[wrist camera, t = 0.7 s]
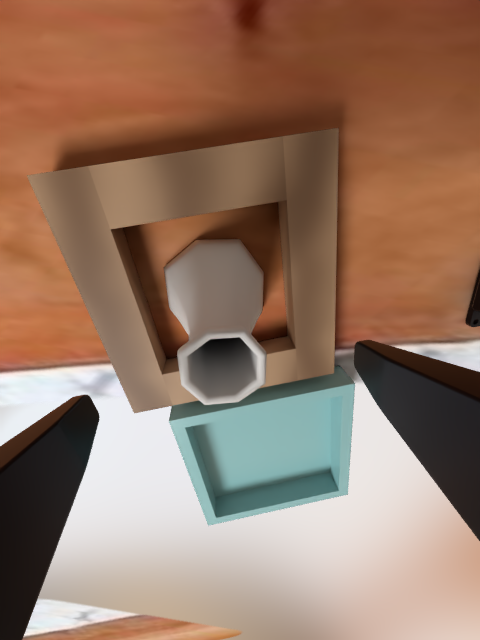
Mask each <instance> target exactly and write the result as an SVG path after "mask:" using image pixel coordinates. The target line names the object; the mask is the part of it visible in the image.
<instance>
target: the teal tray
mask: <svg viewBox="0 0 480 640" xmlns="http://www.w3.org/2000/svg"><path fill="white" fill-rule="evenodd" d="M354 390H355V383H354V382H353V381H352V379H351V378H350V377H349V376H348V375H347V374H346V372H345V371H344V370H343V369H342V368H341V367H340V366H335V367H334V373H333V374H328V375H323V376H318V377H313V378H308V379H303V380H298V381H293V382H288V383H283V384H278V385H273V386H268V387H263V388H258V389H257V390H256V391H254V392H253V393H251V394H250V395H248V396H247V397H245V398H244V399H242V400H241V401H239V402H234V403H223V404H212V405H204V404H203V403H202V402H201V401H199V400H198V401H193V402H188V403H183V404H178V405H173V406H172V409H171V414H170V419H169V423H170V425H171V428H172V430H173V433H174V436H175V438H176V441H177V444H178V446H179V449H180V452H181V454H182V457H183V460H184V462H185V465H186V468H187V470H188V473H189V475H190V478H191V481H192V484H193V486H194V488H195V491H196V494H197V497H198V499H199V502H200V505H201V507H202V510H203V513H204V515H205V518H206V521H207V523H208V525H213V524H217V523H222V522H226V521H231V520H235V519H240V518H244V517H249V516H253V515H258V514H262V513H267V512H271V511H275V510H280V509H284V508H289V507H294V506H298V505H303V504H307V503H311V502H316V501H320V500H324V499H329V498H334V497H338V496H343V495H347V494H348V482H349V466H350V451H351V436H352V421H353V405H354Z"/></svg>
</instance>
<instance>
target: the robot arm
mask: <svg viewBox="0 0 480 640" xmlns="http://www.w3.org/2000/svg"><path fill="white" fill-rule="evenodd" d="M466 324H467V325H469V326H471V327H477V326H480V271H479V275H478V278H477V282H476V286H475V289H474V293H473V297H472V300H471V304H470V308H469V311H468V315H467V319H466ZM354 365H355V368H356V370H357V372H358V373H359V375H360V377H361V378H362V380H363V382H364V383H365V385H366V387H367V388H368V390H369V392H370V393H371V395H372V397H373V398H374V400H375V402H376V403H377V405H378V406H379V408H380V409H381V410H382V412H383V413H384V415H385V416H386V417H387V419H388V420H389V421H390V423H391V424H392V425H393V427H394V428H395V429H396V431H397V432H398V433H399V435H400V436H401V437H402V439H403V440H404V441H405V442H406V444H407V445H408V447H409V448H410V449H411V451H412V452H413V453H414V455H415V456H416V457H417V459H418V460H419V461H420V462H421V464H422V465H423V466H424V468H425V469H426V471H427V472H428V473H429V475H430V476H431V477H432V479H433V480H434V481H435V483H436V484H437V485H438V486H439V488H440V489H441V490H442V492H443V493H444V494H445V496H446V497H447V498H448V500H449V501H450V502H451V504H452V505H453V506H454V508H455V509H456V510H457V512H458V513H459V514H460V515H461V517H462V518H463V520H464V521H465V522H466V523H467V525H468V526H469V528H470V529H471V530H472V532H473V533H474V534H475V536H476V537H477V538H478V539H479V541H480V372H477V371H474V370H470V369H467V368H464V367H460V366H457V365H453V364H450V363H447V362H443V361H440V360H436V359H433V358H429V357H426V356H423V355H419V354H416V353H412V352H409V351H406V350H402V349H399V348H395V347H392V346H389V345H385V344H382V343H378V342H375V341H372V340H364V341H359V342H357V343H356V344H355V353H354ZM98 422H99V413H98V411H97V409H96V407H95V405H94V403H93V401H92V400H91V398H90V396H88V395H81V396H75V397H72V398H71V399H69V400H68V401H66V402H65V403H63V404H62V405H61V406H59V407H58V408H56V409H55V410H53V411H52V412H50V413H49V414H47V415H46V416H44V417H43V418H41V419H40V420H38V421H37V422H36V423H34V424H33V425H31V426H30V427H28V428H27V429H25V430H24V431H22V432H21V433H19V434H18V435H17V436H15V437H14V438H12V439H10V440H9V441H8V442H6V443H5V444H3V445H2V446H0V640H22V639H23V636H24V634H25V631H26V628H27V626H28V623H29V620H30V618H31V615H32V612H33V610H34V607H35V604H36V601H37V599H38V596H39V593H40V591H41V588H42V585H43V583H44V580H45V577H46V575H47V572H48V569H49V567H50V564H51V561H52V558H53V556H54V553H55V551H56V548H57V545H58V542H59V540H60V537H61V534H62V532H63V529H64V526H65V523H66V521H67V518H68V516H69V513H70V510H71V507H72V505H73V502H74V499H75V497H76V494H77V491H78V489H79V486H80V483H81V481H82V478H83V475H84V472H85V470H86V466H87V463H88V460H89V456H90V452H91V449H92V445H93V441H94V437H95V434H96V430H97V426H98Z"/></svg>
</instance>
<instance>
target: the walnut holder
mask: <svg viewBox="0 0 480 640" xmlns="http://www.w3.org/2000/svg"><path fill="white" fill-rule="evenodd" d="M338 143H339V128H333V129H327V130H320V131H314V132H307V133H301V134H294V135H288V136H281V137H275V138H268V139H262V140H255V141H249V142H242V143H236V144H229V145H223V146H216V147H209V148H203V149H196V150H190V151H183V152H177V153H170V154H164V155H157V156H151V157H144V158H138V159H131V160H125V161H118V162H112V163H105V164H99V165H92V166H85V167H79V168H72V169H66V170H59V171H53V172H46V173H40V174H33V175H27V177H28V179H29V182H30V184H31V186H32V188H33V190H34V193H35V195H36V197H37V199H38V201H39V204H40V206H41V208H42V210H43V213H44V215H45V217H46V219H47V221H48V224H49V226H50V228H51V230H52V232H53V235H54V237H55V239H56V241H57V243H58V246H59V248H60V250H61V252H62V255H63V257H64V259H65V261H66V263H67V266H68V268H69V270H70V272H71V274H72V277H73V279H74V281H75V283H76V286H77V288H78V290H79V292H80V294H81V297H82V299H83V301H84V303H85V305H86V308H87V310H88V312H89V314H90V317H91V319H92V321H93V323H94V325H95V328H96V330H97V332H98V334H99V336H100V339H101V341H102V343H103V345H104V347H105V350H106V352H107V354H108V356H109V359H110V361H111V363H112V365H113V367H114V370H115V372H116V374H117V376H118V378H119V381H120V383H121V385H122V387H123V390H124V392H125V394H126V396H127V398H128V401H129V403H130V405H131V407H132V409H133V412H134V413H138V412H143V411H148V410H153V409H158V408H163V407H168V406H173V405H178V404H183V403H188V402H193V401H198V399H197V398H196V397H195V396H194V395H192V394H191V393H190V392H189V391H188V390H187V389H185V388H184V387H183V386H182V385H181V379H180V372H179V364H178V357H176V358H171V359H166V357H165V354H164V351H163V348H162V345H161V342H160V339H159V336H158V333H157V330H156V327H155V324H154V321H153V318H152V315H151V312H150V309H149V306H148V303H147V300H146V297H145V294H144V291H143V288H142V285H141V282H140V279H139V276H138V273H137V270H136V267H135V264H134V261H133V258H132V255H131V252H130V249H129V246H128V243H127V240H126V237H125V234H124V231H123V228H122V227H128V226H134V225H140V224H146V223H152V222H158V221H164V220H170V219H176V218H182V217H188V216H194V215H200V214H206V213H213V212H219V211H225V210H231V209H237V208H243V207H249V206H255V205H261V204H267V203H273V202H278V211H279V224H280V238H281V251H282V264H283V278H284V291H285V304H286V318H287V331H288V336H286V337H281V338H276V339H270V340H265V341H260V342H258V343H259V344H260V345H261V346H262V347H263V349H264V350H265V351H266V354H267V360H266V382H265V384H264V385H263V386H261V387H260V388H263V387H268V386H273V385H278V384H283V383H288V382H293V381H298V380H303V379H308V378H313V377H318V376H323V375H328V374H333V373H334V355H335V302H336V249H337V196H338Z"/></svg>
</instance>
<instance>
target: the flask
mask: <svg viewBox="0 0 480 640" xmlns="http://www.w3.org/2000/svg"><path fill="white" fill-rule="evenodd" d="M164 273H165V281H166V288H167V295H168V303H169V308H170V309H171V311H172V312H173V313H174V315H175V316H176V317H177V318H178V320H179V321H180V323H181V324H182V326H183V327H184V329H185V330H186V332H187V334H188V335H189V341H188V342H187V343H186V344H184V345H183V346H182V347H180V348H179V350H178V352H177V357H178V364H179V372H180V379H181V385H182V386H183V387H184V388H185V389H187V390H188V391H189V392H190V393H191V394H192V395H194V396H195V397H196V398H197V399H198V400H199V401H201V402H202V403H203V404H204V405H212V404H223V403H234V402H239V401H241V400H242V399H244V398H245V397H247V396H248V395H250V394H251V393H253V392H254V391H256V390H257V389H258V388H260V387H261V386H263V385H264V384H265V382H266V360H267V354H266V351H265V350H264V349H263V347H262V346H261V345H260V344H259V343H258V342H257V340H256V339H255V338H254V337H253V336H252V335H251V333H252V331H253V328H254V326H255V323H256V321H257V319H258V318H259V316H260V314H261V312H262V310H263V283H264V272H263V270H262V269H261V268H260V266H259V265H258V264H257V262H256V261H255V259H254V258H253V257H252V255H251V254H250V253H249V251H248V250H247V248H246V247H245V246H244V244H243V243H242V242H241V240H240V239H212V240H195V241H194V242H193V243H192V244H191V245H189V246H188V247H187V248H186V249H185V250H183V251H182V252H181V253H180V254H179V255H178V256H176V257H175V258H174V259H173V260H172V261H171V262H169V263H168V264H167V265H166V266H165V267H164Z"/></svg>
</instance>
